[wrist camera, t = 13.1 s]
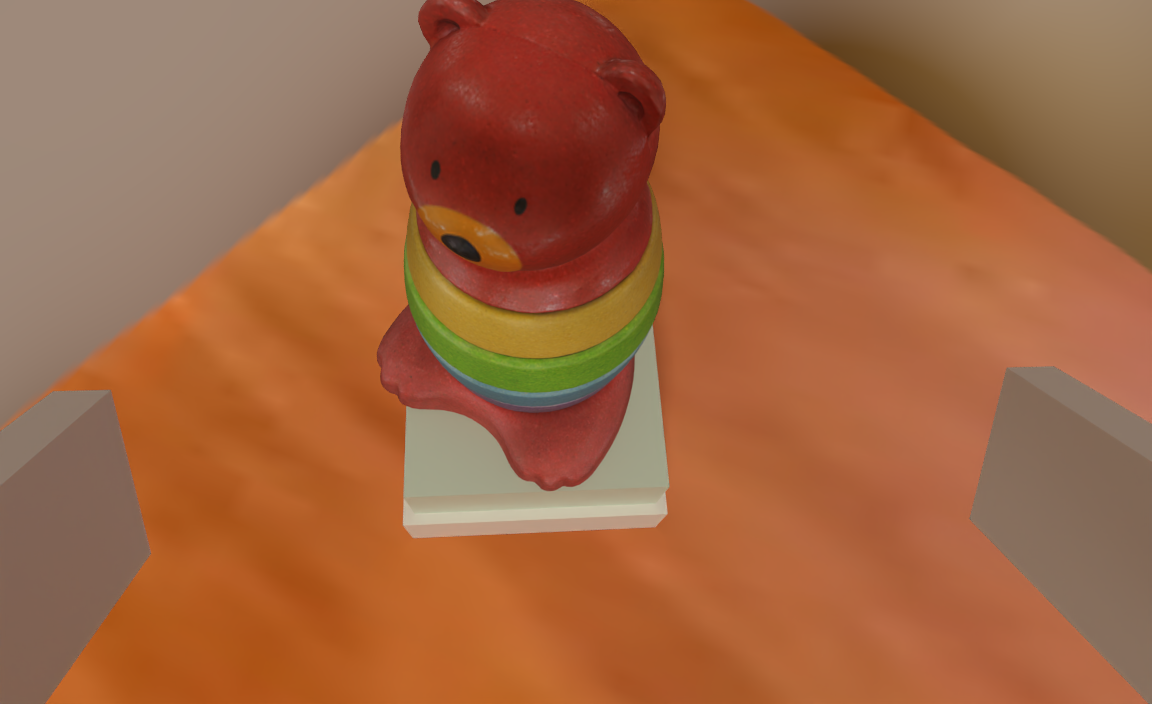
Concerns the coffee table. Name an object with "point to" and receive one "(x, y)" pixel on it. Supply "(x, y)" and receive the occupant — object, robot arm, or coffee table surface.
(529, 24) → the stacking bear
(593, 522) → the tower base
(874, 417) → the coffee table surface
